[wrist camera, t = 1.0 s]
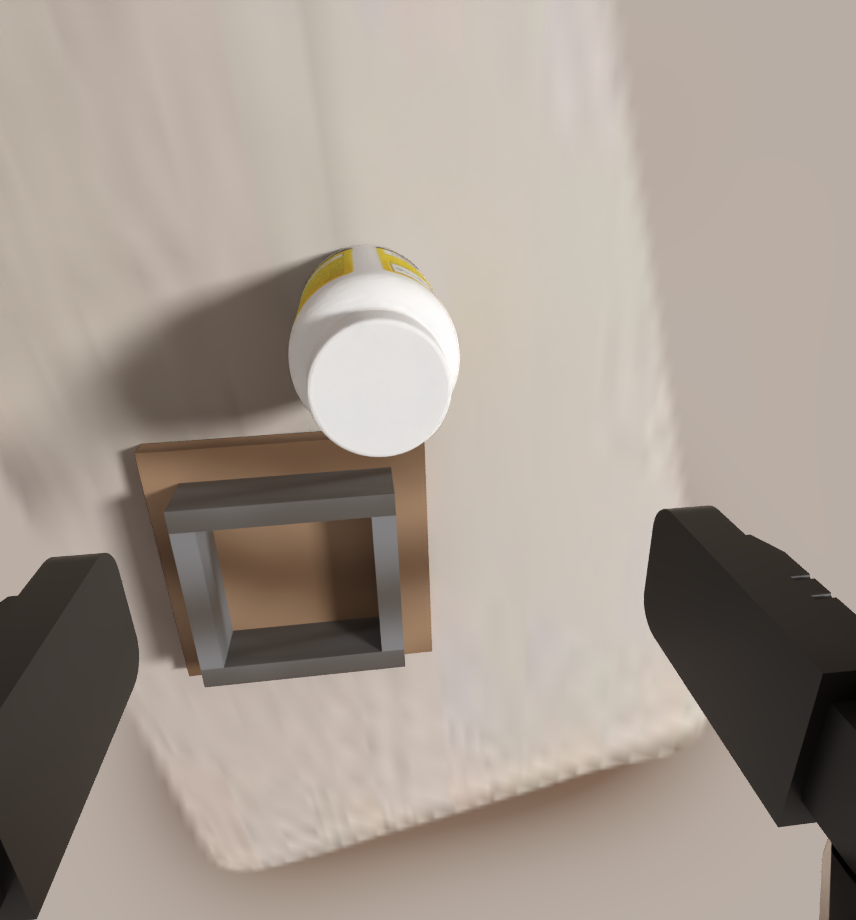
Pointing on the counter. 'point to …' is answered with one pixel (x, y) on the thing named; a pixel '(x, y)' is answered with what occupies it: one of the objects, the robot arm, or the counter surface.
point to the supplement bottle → (373, 352)
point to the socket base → (290, 554)
